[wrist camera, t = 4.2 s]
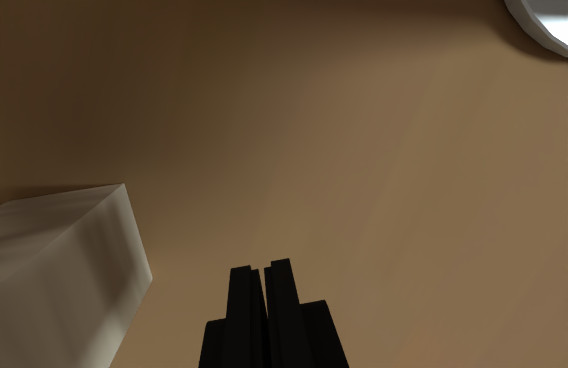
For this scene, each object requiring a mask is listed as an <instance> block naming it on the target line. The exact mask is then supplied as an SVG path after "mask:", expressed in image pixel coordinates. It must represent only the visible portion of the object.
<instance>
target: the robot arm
mask: <svg viewBox="0 0 568 368" xmlns="http://www.w3.org/2000/svg"><path fill="white" fill-rule="evenodd" d="M504 2H505V4H506V6H507V8H508V10H509V12H510V13H511V14H512V16H513V17H514V18H515V20H516V21H517V22H518V24H519V25H520V26H521V27H522V29H523V30H524V31H525V32H526V33H527V34H528V35H529V36H531V37H532V38H533V39H534V40H536V41H537V42H538V43H539V44H541V45H542V46H543V47H544V48H547V49H549V50H551V51H553V52H555V53H557V54H560V55H562V56H564V57H567V58H568V0H504ZM264 275H265V287H266V299H267V311H268V317H267V312H266V307H265V301H264V296H263V291H262V285H261V280H260V275H259V270H258V269H255V270H251V266H250V265H248V266H242V267H237V268H231V271H230V281H229V291H228V301H227V312H226V318H224V319H218V320H213V321H208V322H207V324H206V327H205V333H204V338H203V344H202V350H201V355H200V361H199V366H198V368H349V365H348V362H347V360H346V357H345V354H344V351H343V348H342V345H341V342H340V340H339V337H338V334H337V331H336V328H335V325H334V323H333V320H332V317H331V314H330V311H329V308H328V306H327V303H326V301H325V300H320V301H315V302H310V303H304V304H300V303H299V299H298V295H297V290H296V286H295V281H294V277H293V273H292V268H291V264H290V260H289V258H287V259H282V260H276V261H271V267H266V268H264Z"/></svg>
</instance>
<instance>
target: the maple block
mask: <svg viewBox="0 0 568 368" xmlns="http://www.w3.org/2000/svg"><path fill="white" fill-rule="evenodd" d="M152 279H153V278H152V275H151V271H150V268H149V265H148V261H147V258H146V254H145V251H144V248H143V244H142V241H141V238H140V234H139V231H138V228H137V224H136V221H135V218H134V214H133V211H132V208H131V204H130V201H129V198H128V194H127V191H126V187H125V184H124V183H121V184H115V185H109V186H102V187H96V188H89V189H83V190H76V191H70V192H63V193H57V194H50V195H44V196H37V197H31V198H24V199H18V200H11V201H8V202H6V203H4V204H2V205H0V368H109V366H110V364H111V362H112V360H113V358H114V356H115V354H116V352H117V350H118V348H119V346H120V344H121V342H122V340H123V338H124V336H125V334H126V332H127V330H128V328H129V326H130V324H131V322H132V320H133V318H134V316H135V314H136V312H137V310H138V308H139V305H140V303H141V301H142V299H143V297H144V295H145V293H146V291H147V289H148V287H149V285H150V283H151V281H152Z"/></svg>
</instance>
